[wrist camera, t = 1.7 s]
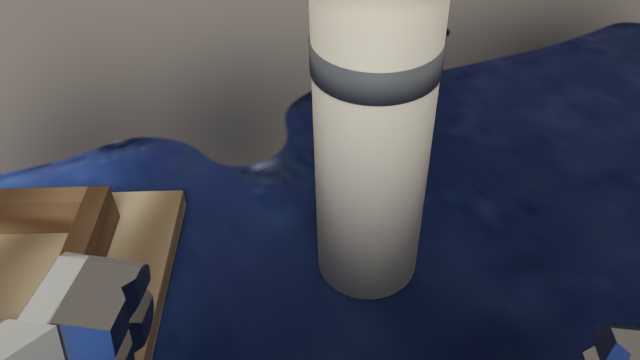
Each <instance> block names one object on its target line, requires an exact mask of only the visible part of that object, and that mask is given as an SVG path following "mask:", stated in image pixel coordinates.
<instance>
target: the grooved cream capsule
mask: <svg viewBox="0 0 640 360" xmlns="http://www.w3.org/2000/svg"><path fill="white" fill-rule="evenodd" d="M449 8H450V0H309V23H310V24H309V25H310V34H309V65H310V75H311V80H312V107H313V134H314V160H315V187H316V214H317V241H318V264H319V269H320V272H321V274H322V276H323V278H324V279H325V281H326V282H327V283H328V284H329V285H330V286H331V287H333V288H334V289H335V290H337V291H338V292H340V293H342V294H344V295H347V296H350V297H353V298H357V299H369V300H371V299H380V298H385V297H388V296H391V295H393V294H395V293H397V292H398V291H400V290H401V289H403V288H404V287H405V286H406V285H407V284H408V283H409V281H410V280H411V278H412V276H413V274H414V271H415V266H416V258H417V251H418V243H419V236H420V228H421V220H422V213H423V205H424V198H425V190H426V182H427V175H428V167H429V160H430V152H431V144H432V137H433V129H434V122H435V114H436V106H437V99H438V91H439V84H440V81H441V78H442V72H443V65H444V57H445V49H446V31H447V23H448V15H449Z"/></svg>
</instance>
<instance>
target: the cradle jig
mask: <svg viewBox="0 0 640 360" xmlns="http://www.w3.org/2000/svg"><path fill="white" fill-rule="evenodd" d="M185 209H186V201H185V196H184V192H183V190H178V191H139V192H112V191H111V189H110V186H84V187H45V188H6V189H0V323H1V322H3V321H5V320H7V319H14V320H16V319H17V318H18V316H19V315H20V313H21V312H22V310H23V309H24V307H25V306H26V304H27V303H28V301H29V300H30V298H31V297H32V295H33V294H34V292H35V291H36V289H37V288H38V286H39V285H40V283H41V282H42V280H43V279H44V277H45V276H46V274H47V273H48V271H49V269H50V268H51V266H52V265H53V263H54V262H55V260H56V259H57V258H58V257H59V256H60V255H61V254H63V253H64V252H71V253H78V254H84V255H91V256H93V255H94V256H100V257H107V258H113V259H119V260H126V261H132V262H139V263H145V264H147V265H149V268H150V274H151V280H150V282H149V285H148V287H147V290H148V291H149V292H150V293H151V294H152V295H153V300H154V314H153V321H152V325H151V329H150V333H149V336H148V338H147V341H146V344H145V346H144V347H142V348H141V349H140V350H138V351H137V352H135V353H134V356H135V360H152V357H153V353H154V348H155V344H156V339H157V335H158V330H159V326H160V321H161V317H162V312H163V308H164V303H165V299H166V294H167V290H168V285H169V281H170V276H171V272H172V267H173V263H174V258H175V254H176V249H177V245H178V240H179V236H180V231H181V227H182V222H183V218H184V213H185Z"/></svg>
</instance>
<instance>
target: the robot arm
mask: <svg viewBox="0 0 640 360" xmlns="http://www.w3.org/2000/svg"><path fill="white" fill-rule="evenodd" d="M150 280H151V274H150V268H149V265H147V264H145V263H139V262H132V261H126V260H119V259H113V258H107V257H100V256H94V255H93V256H91V255H84V254H78V253H71V252H64V253H63V254H61V255H60V256H59V257H58V258H57V259H56V260H55V262H54V263H53V265H52V266H51V268H50V269H49V271H48V273H47V274H46V276H45V277H44V279H43V280H42V282H41V283H40V285H39V286H38V288H37V289H36V291H35V292H34V294H33V295H32V297H31V298H30V300H29V301H28V303H27V304H26V306H25V307H24V309H23V310H22V312H21V313H20V315H19V316H18V318H17V319H16V320H14V319H7V320H5V321H3V322H1V323H0V360H135V356H134V353H135V352H137V351H138V350H140V349H141V348H142V347H144V346H145V344H146V341H147V338H148V336H149V333H150V329H151V325H152V321H153V314H154V300H153V295H152V294H151V293H150V292H149V291H148V290H147V287H148V285H149V282H150ZM592 339H593V342H594V345H595V346H594V347H592V348H590V349H588V350H586V351H584V352H583V353H582V355H581V357H580V359H579V360H640V327H634V326H626V325H618V324H609V323H602V324H601V325H599V326H598V327H597V328H596V329H595V331H594V333H593V335H592Z"/></svg>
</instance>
